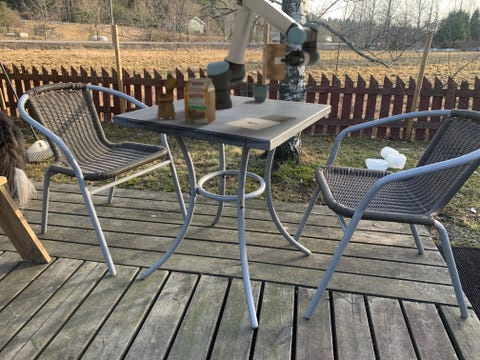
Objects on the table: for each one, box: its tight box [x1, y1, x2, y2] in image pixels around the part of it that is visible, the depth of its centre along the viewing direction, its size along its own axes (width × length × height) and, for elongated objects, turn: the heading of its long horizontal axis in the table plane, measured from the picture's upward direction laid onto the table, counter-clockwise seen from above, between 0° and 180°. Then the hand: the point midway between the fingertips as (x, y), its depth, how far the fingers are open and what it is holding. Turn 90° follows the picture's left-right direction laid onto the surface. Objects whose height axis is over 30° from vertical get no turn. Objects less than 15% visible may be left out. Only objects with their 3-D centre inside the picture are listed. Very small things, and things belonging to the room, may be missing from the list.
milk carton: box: [183, 77, 216, 125], centre depth 163 cm, size 10×10×19 cm
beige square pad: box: [224, 117, 281, 131], centre depth 164 cm, size 18×18×1 cm
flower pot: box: [252, 84, 270, 102], centre depth 222 cm, size 9×9×9 cm
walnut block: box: [265, 43, 287, 81], centre depth 164 cm, size 6×6×15 cm
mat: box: [260, 114, 297, 123], centre depth 175 cm, size 12×12×1 cm
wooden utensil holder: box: [156, 76, 178, 119], centre depth 173 cm, size 9×14×18 cm, turn 162°
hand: (269, 60), depth 160 cm, fingers closed on walnut block, 6 cm apart
